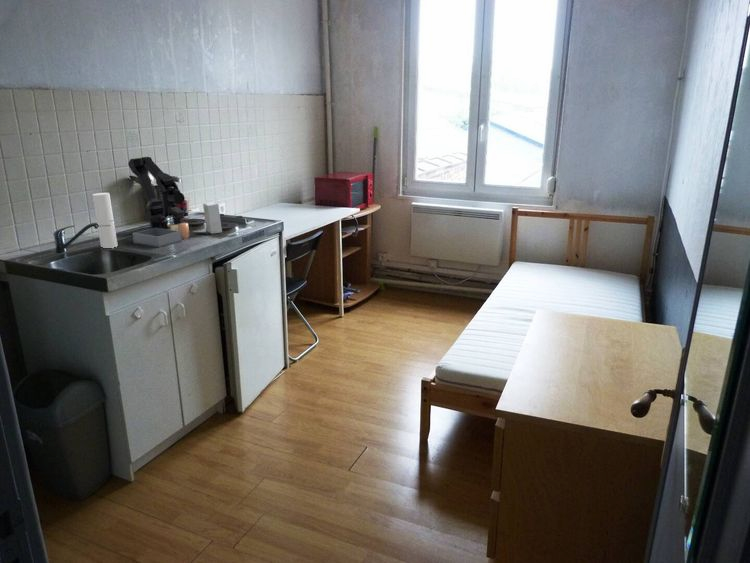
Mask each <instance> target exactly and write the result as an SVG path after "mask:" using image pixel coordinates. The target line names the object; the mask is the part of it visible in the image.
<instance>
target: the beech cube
mask: <svg viewBox="0 0 750 563" xmlns="http://www.w3.org/2000/svg"><path fill="white" fill-rule="evenodd" d="M167 227H168V229H169V230H176V231H178V224H174V223H170V224H168V223H167Z"/></svg>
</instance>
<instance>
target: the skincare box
mask: <svg viewBox="0 0 750 563" xmlns="http://www.w3.org/2000/svg"><path fill="white" fill-rule="evenodd" d="M202 207H203V212H204V213H203V214H204V220H205V221H204V222H205V228H206V232H207V233H209V234H218V233H219V234H220V233H222V232H223V229H222V223H221V222H222V221H221V215H220V207H219V203H216V202H214V201H212V202H207V203H203V204H202Z"/></svg>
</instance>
